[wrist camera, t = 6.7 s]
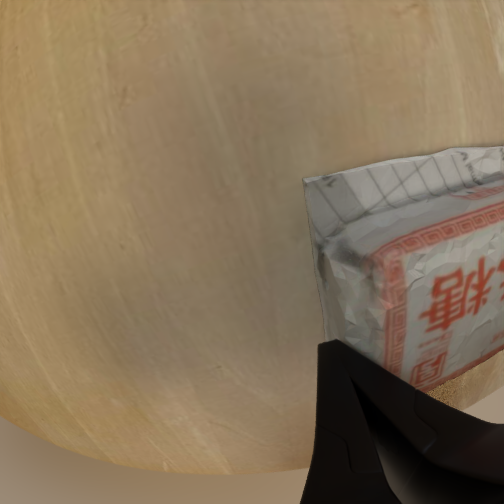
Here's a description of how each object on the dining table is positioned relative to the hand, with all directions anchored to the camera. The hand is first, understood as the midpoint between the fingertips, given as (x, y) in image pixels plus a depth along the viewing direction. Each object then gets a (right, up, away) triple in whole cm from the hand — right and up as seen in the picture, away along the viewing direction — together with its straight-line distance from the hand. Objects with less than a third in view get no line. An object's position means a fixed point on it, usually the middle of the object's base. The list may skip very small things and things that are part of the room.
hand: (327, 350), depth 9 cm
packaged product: (+9, +4, +3) cm, 10 cm away
